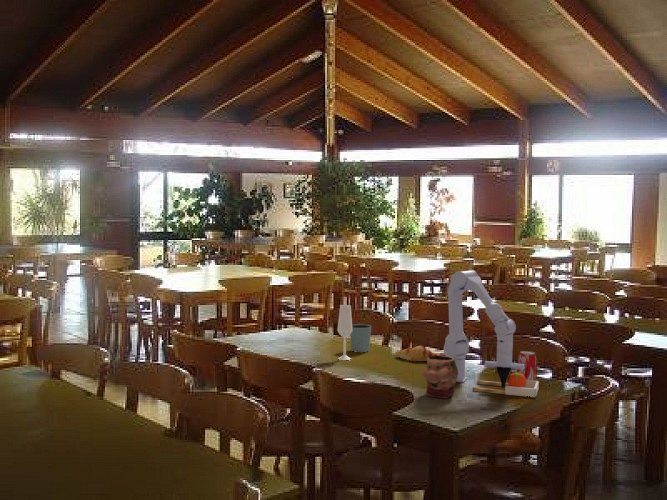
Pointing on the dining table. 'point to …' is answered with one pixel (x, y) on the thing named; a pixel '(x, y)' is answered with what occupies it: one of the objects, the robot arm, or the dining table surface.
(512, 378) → the clementine
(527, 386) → the white arch
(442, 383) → the decorative planter
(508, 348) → the robot arm
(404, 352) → the croissant
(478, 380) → the lane rails
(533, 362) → the soda can
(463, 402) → the dining table surface
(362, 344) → the drinking glass
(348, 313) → the champagne flute
